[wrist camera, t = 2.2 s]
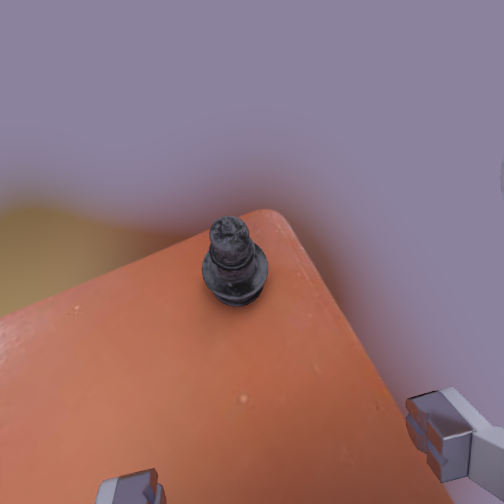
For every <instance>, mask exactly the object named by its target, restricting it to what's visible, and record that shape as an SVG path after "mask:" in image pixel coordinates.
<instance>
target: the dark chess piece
mask: <svg viewBox="0 0 504 504" xmlns="http://www.w3.org/2000/svg"><path fill="white" fill-rule="evenodd" d="M209 237H210V241H211V244H210V247H209V251H208V252H207V254H206V255H205V258H204V261H203V265H202V274H203V279H204V281H205V283H206V285H207V287H208V288H209V289H210V290H211V291H212V292H213V293H214V295H215V296H216V297H217V298H218V299H219V301H221V302H223V303H224V304H226V305H230V306H244V305H247V304H249V303H251V302H253V301H254V300H255V299H256V298H257V297H258V296H259V295H260V293H261V291H262V289H263V286H264V282H265V281H266V277H267V274H268V262H267V259H266V256H265V254H264V252H263V251H262V249H261V248H260V247H259V246H258V245H256V244H255V243H253V241H252V240H251V238H250V237H249V230H248V228H247V226H246V224H245V223H244V222H243V221H242V220H241V219H239V218H237V217H233V216H225V217H221V218H219V219H217V220H216V221H215V222H214V223H213V225H212V226H211V229H210V235H209Z"/></svg>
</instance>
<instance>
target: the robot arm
mask: <svg viewBox="0 0 504 504" xmlns="http://www.w3.org/2000/svg"><path fill="white" fill-rule="evenodd" d="M406 408H407V410H408V411H409V414H408V415H407V417H406V427H407V430H408V433H409V436H410V437H411V439H412V441H413V443H414V444H415V446H416V447H417V449H418V450H420V451H422V452H424V453H425V454H427V464H428V465H429V466H430V468H431V469H432V471H433V472H434V474H435V475H436V477H437V478H438V479H439V481H440V482H441V483H444V482H448V481H452V480H456V479H459V478H463V477H467V476H468V478H469V479H471V480H472V481H474V482H475V483H477V484H478V485H480V486H481V487H483V488H484V489H485V490H487V491H488V492H490V493H491V494H493V495H494V496H496V497H497V498H499V499H500V500H502V501H503V502H504V428H502V427H500V426H495V427H493V426H492V425H491V424H490V423H489V422H488V421H487V420H486V419H485V418H484V417H483V416H482V415H481V414H480V413H479V412H478V411H477V410H476V409H475V408H474V407H473V406H472V405H471V404H470V403H469V402H468V401H467V400H466V399H465V398H464V397H463V396H462V395H461V394H460V393H459V392H458V391H457V390H456V389H455V388H453V387H447V388H444V389H441V390H437V391H432V392H428V393H425V394H421V395H418V396H414V397H411V398H408V399H407V400H406ZM157 481H158V474H157V472H156V470H155V468H152V469H148V470H144V471H140V472H135V473H131V474H127V475H123V476H119V477H115V478H111V479H108V480H104V481H103V482H102V483H101V485H100V487H99V490H98V494H97V498H96V501H95V504H166V496H165V491H164V488H163V486H162V485H161V484H159V483H157Z"/></svg>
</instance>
